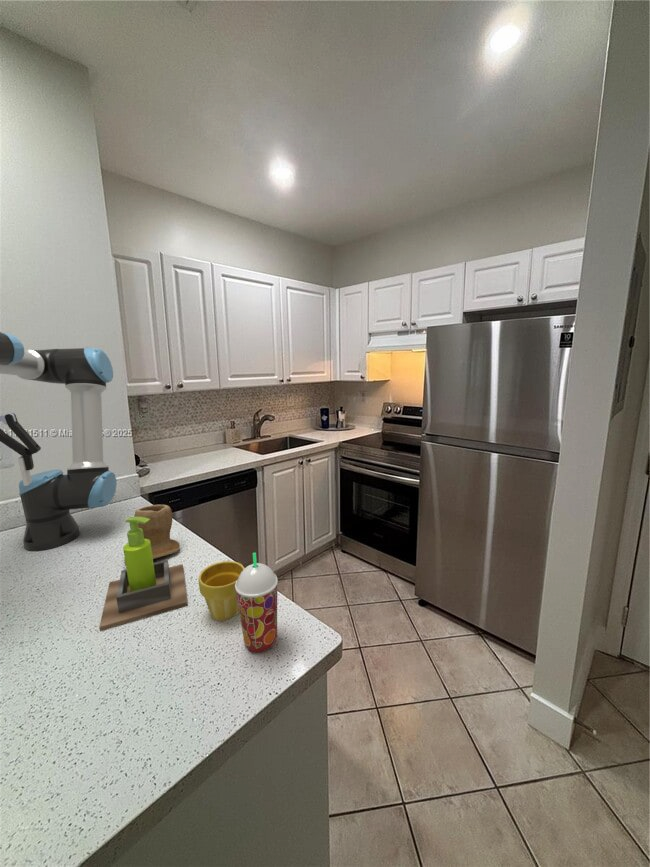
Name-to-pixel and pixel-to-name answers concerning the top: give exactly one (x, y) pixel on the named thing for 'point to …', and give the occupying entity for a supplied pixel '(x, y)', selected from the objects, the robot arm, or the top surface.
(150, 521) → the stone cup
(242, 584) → the smoothie
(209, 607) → the plant pot
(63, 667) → the top surface
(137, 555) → the soap dispenser
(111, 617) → the dispenser stand
